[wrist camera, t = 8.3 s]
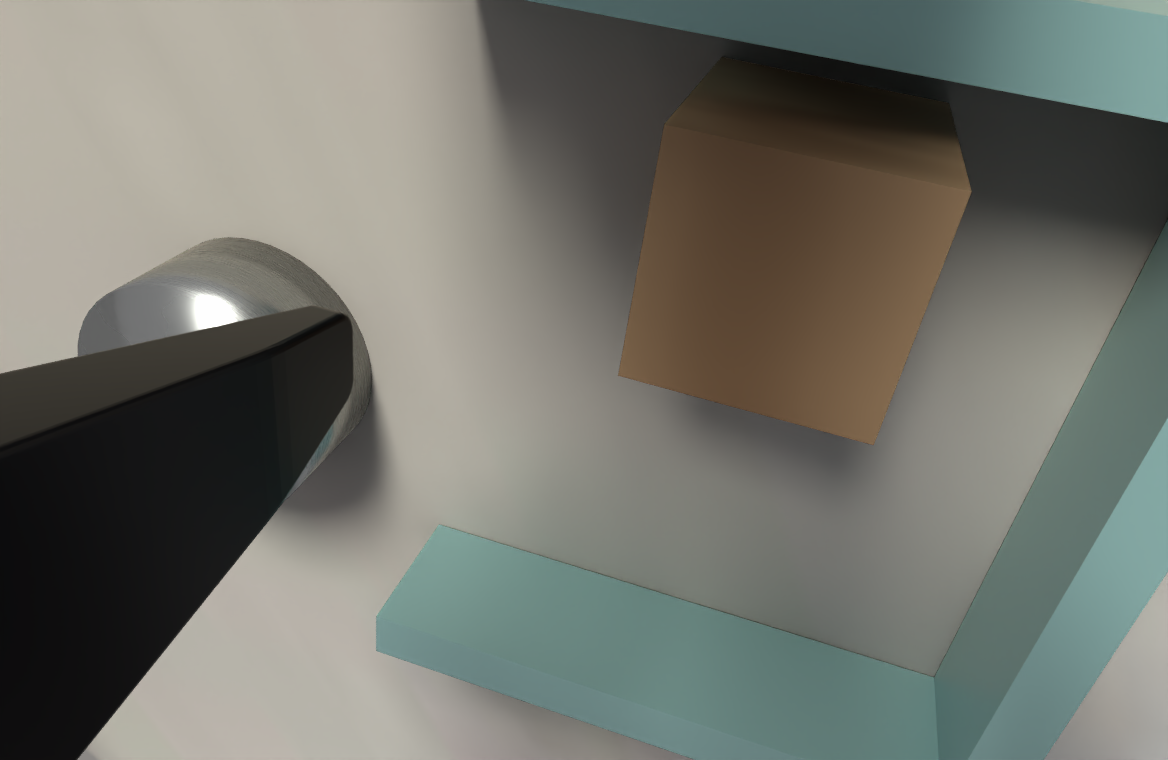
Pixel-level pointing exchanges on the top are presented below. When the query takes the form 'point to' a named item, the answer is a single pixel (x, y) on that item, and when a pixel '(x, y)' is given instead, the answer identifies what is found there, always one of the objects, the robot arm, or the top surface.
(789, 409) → the walnut block
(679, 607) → the parts bay
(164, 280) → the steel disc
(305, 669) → the top surface
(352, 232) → the top surface
